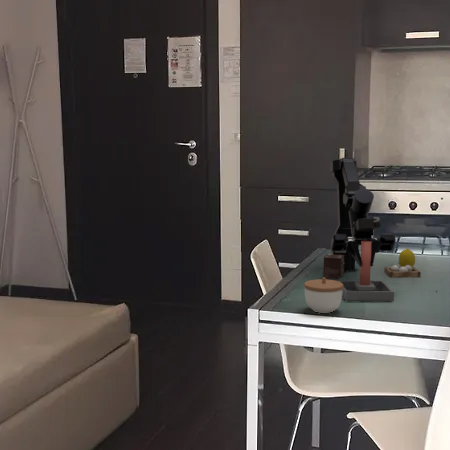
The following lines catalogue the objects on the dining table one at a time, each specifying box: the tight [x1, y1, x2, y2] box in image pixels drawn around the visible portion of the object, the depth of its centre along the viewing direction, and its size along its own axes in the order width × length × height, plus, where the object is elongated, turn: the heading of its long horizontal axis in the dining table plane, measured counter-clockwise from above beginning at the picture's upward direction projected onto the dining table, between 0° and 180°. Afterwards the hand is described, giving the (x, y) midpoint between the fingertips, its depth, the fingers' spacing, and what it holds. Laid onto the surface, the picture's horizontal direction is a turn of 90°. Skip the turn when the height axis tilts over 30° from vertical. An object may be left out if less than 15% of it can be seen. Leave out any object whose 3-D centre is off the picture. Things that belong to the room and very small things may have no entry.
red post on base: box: [354, 241, 376, 291], centre depth 213 cm, size 6×5×14 cm
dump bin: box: [338, 280, 395, 302], centre depth 214 cm, size 14×14×3 cm
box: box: [322, 253, 345, 280], centre depth 239 cm, size 6×6×7 cm
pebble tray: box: [383, 266, 422, 278], centre depth 239 cm, size 10×8×2 cm
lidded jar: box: [303, 277, 343, 313], centre depth 198 cm, size 11×11×9 cm
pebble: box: [405, 265, 413, 272], centre depth 240 cm, size 3×3×3 cm
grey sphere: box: [390, 264, 400, 272], centre depth 240 cm, size 3×3×3 cm
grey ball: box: [399, 266, 408, 272], centre depth 238 cm, size 3×3×3 cm
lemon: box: [398, 248, 416, 267], centre depth 248 cm, size 6×6×8 cm
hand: (366, 265), depth 212 cm, fingers closed on red post on base, 3 cm apart
